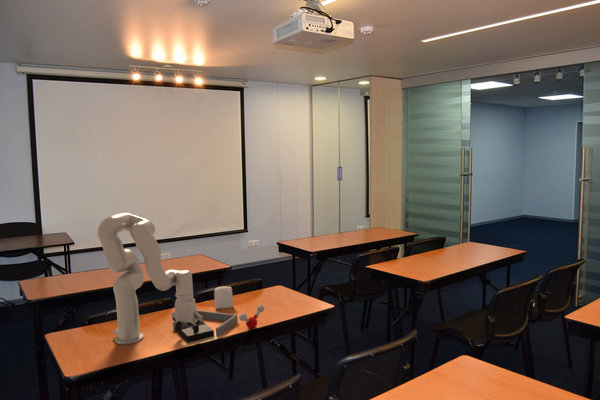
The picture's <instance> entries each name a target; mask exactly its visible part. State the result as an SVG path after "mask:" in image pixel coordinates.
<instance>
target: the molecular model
mask: <svg viewBox="0 0 600 400" xmlns="http://www.w3.org/2000/svg"><path fill="white" fill-rule="evenodd" d="M264 311H265V306H264V305H262V304H259V305H258V306H257V308H256V312H255V314H254V315H253V316H250V317H247V316H248V315H247V314H246V313H243V312H242V313H240V314H239V315H238V316H239V317H238V319H239V320H240V321H242V322H244V321H245V326H246V327H247V328H248V329H251V330H252V329H255V328H257V326H258V320H257V319H258V317H259V316H260V313H263V312H264Z"/></svg>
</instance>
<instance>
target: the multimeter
mask: <svg viewBox="0 0 600 400" xmlns="http://www.w3.org/2000/svg"><path fill="white" fill-rule="evenodd" d="M194 321H195V320H194ZM195 322H196V321H195ZM181 324H182V330H181V331H179V332H178V333H177V334H178V335H179V336H180V335H181V336H182V337H181V336H180V337H181V338H182V339H183V340H184V341H185V342H186V343H188V344H190V343H194V342H197V341H198V342H199V341H201V340H205V339H210V338H214V337H215V330H214V329H213V328H211V326H209V324H207V323H205V322H204V321H203V319H202V320H201V322H200V324H199V332H198V333H196V334H194V331H193V326H194V324H193V323H192V322H184V323H181ZM174 331H175V332H176V331H177V330H176V325H175V330H174Z"/></svg>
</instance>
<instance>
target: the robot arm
mask: <svg viewBox="0 0 600 400" xmlns="http://www.w3.org/2000/svg"><path fill="white" fill-rule="evenodd" d="M124 231H125V232H126V231H127V232H129V233H130V237H131V238H132V240H133V241H134V243H135V245H136V247H137V248H138V250H139V252H140V253H141V255H142V257H143V260H144V266H145V270H146V273H147V275H148V278H149V279H150V282H151V283H152V284H153V286H154V287H155V288H156V289H157V290H159V291H163V292H164V291H167V290H169V289H170V288H172V287H174V286H175V289H176V291H175V294H174V297H176V299H175V304H174V312H171V313H170V316H171V318H172V320H173V322H175V324H176V330H177V332H179V331H181V330H182V324H181V322H192V323H193V324H194V326H193V331H194V334H196V333H198V332H199V324H200V322H201V320H202V321H203V319H202V318H203V316H202V315H200V314H199V313H197V310H198V309H197V304H196V299H195V298H194V289H193V288H194V287H193V286H194V284H193V273H192V271H190V270H188V269H183V270H176V269H167V270H164V268H163V266H162V263H161V253H162V248H161V246H160V245H159V243H158V241H157V239H156V238H155V236H154V234H155V232H156V227H155V224H154V223H153V222H152V221H150V220H149V219H146V218H143V217H139V216H137V215H134V214H131V213H129V212H121V213H117V214H116V213H115V214H113V215H110V216H107V217H106V218H105V219H103V220H102V221H101V222H100V223H99V226H98V229H97V234H98V239H99V242H100V244H101V246H102V249H103V253H104V255H105V256H104V257H105V259H106V261H107V264H108V268H109V269H110V271H111V272H113V273H116V274H119V273H122V274H121V275H119V276H118V277H117V278H116V279H115V280H114V282H113V286H112V287H113V288H112V289H113V293H114V298H115V304H116V318H117V327H116V328H115V329H114V330H113V331H112V334H113V335H116V337H115V338H114V340H115V341H114V342H115V343H116V344H118V345H131V344H135V343H137V342H139V341H142V340H143V338H144V333H142V332H140V331H141V330H140V328H141V327H140V314H139V301H138V296H137V293H136V290H138V289H139V288H141V287H142V285H143V284H144V282H145V281H144V280H145V277H144V272H143V269H142V267H141V263H140V262H139V261H140V260H139V258H138V256H137V254H136V252H134V251H133V250H132V249H128V248H124V245H123V242H122V240H121V238H120V237H119V236H118V234H119V233H122V232H124ZM197 317H198V318H197ZM194 320H195V321H196V322H195V321H194ZM180 321H181V322H180ZM176 330H175V331H176ZM177 332H176V333H177Z"/></svg>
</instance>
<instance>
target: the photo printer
mask: <svg viewBox="0 0 600 400" xmlns="http://www.w3.org/2000/svg"><path fill="white" fill-rule="evenodd" d="M213 291H214V292H213V293H214V294H213V296H214V297H213V298H214V309H216V310H219V309H229V308H233V307H234V298H233V288H232V287H231V286H224V285H223V286H218V287H216V288H214V290H213Z"/></svg>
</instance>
